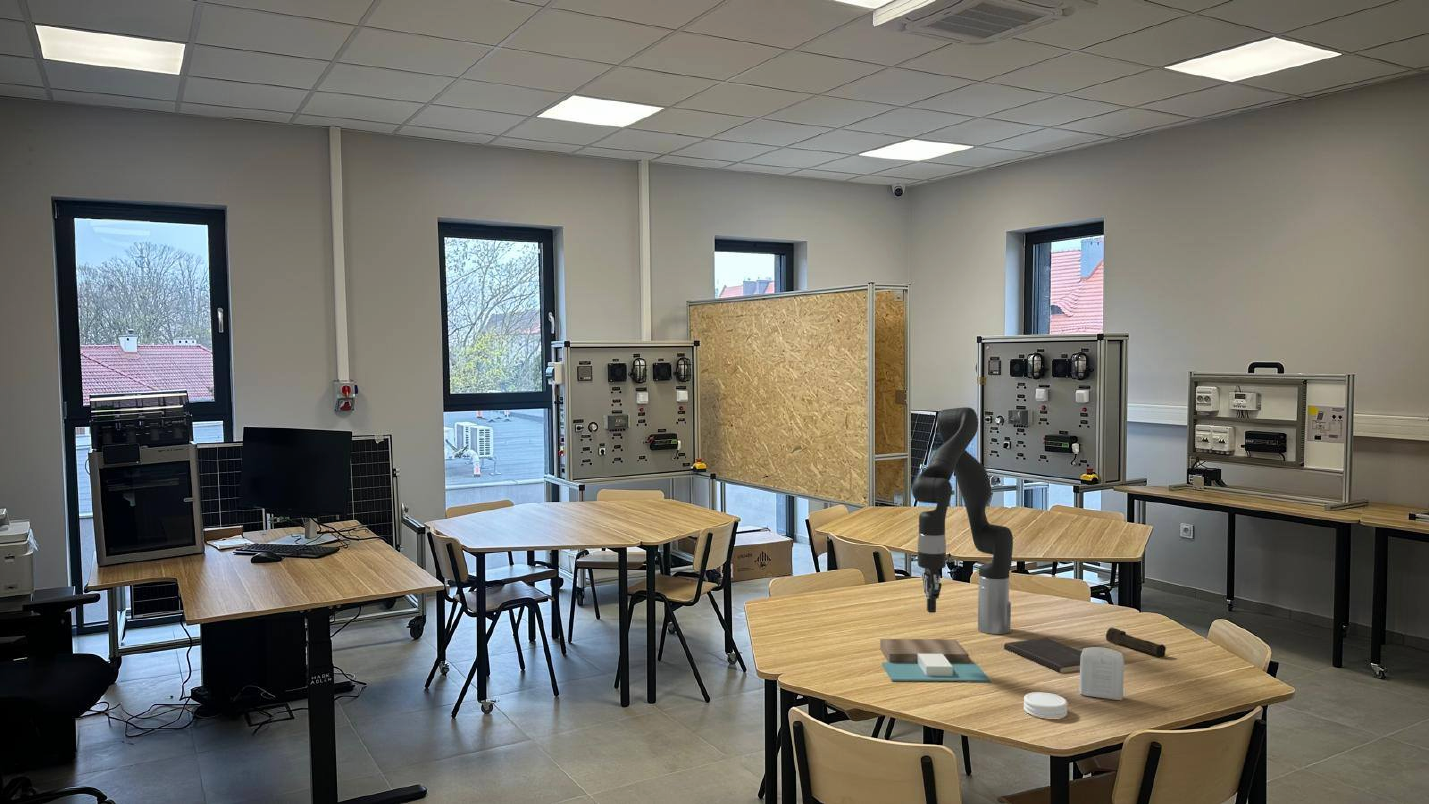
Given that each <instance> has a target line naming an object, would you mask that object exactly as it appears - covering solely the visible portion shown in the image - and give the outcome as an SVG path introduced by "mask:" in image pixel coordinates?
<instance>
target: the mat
mask: <svg viewBox="0 0 1429 804" xmlns="http://www.w3.org/2000/svg"><path fill="white" fill-rule="evenodd" d="M950 664H951V665H952V666H953V676H926V675H925V673H924V672H923V670H922V669H921V667H920V666H919V664H918V663H917V662H888V661H883V662H882V663H881V665H882V667H883V669H884V670H885V672H886V674H887V675H888V677H890V678H891V679H890V678H889V679H890V681H891V680H892V681H971V682H970V683H991V678H989V677H988V675H987V674H986V673H985V672H984V671H983V670H982V668H981V667H980V666H979V665H978V664H977V663H976V662H968V663H950ZM892 681H891V682H892Z"/></svg>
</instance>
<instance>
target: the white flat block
mask: <svg viewBox="0 0 1429 804" xmlns="http://www.w3.org/2000/svg"><path fill="white" fill-rule="evenodd" d="M917 663H918V664H919V666H920V667H921V669H922V670H923V672H924V673H925V675H926V676H953V666H952V665H951V664H950V663H949V661H948V660H947V659H946V658H945V656H944V655H943V654H917Z"/></svg>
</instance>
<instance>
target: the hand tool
mask: <svg viewBox="0 0 1429 804" xmlns="http://www.w3.org/2000/svg"><path fill="white" fill-rule="evenodd" d="M1105 634H1106V635H1105V640H1106V642H1109V643H1110V644H1114V645H1115V646H1118V645H1119V647H1123V646H1124V647H1128V648H1131V649H1133V650H1137V651H1140V652H1143V653H1146V654H1148V655H1151V656H1155V657H1156V659H1161V658H1160V657H1162V658H1164V657H1165V655H1166V651H1167V650H1166V649H1167V647H1166V646H1165V645H1164V644H1160V643H1155V642H1153V641H1150V640H1145V639H1143V638H1139V637H1138V638H1137V637H1135V636H1132V635H1129V634H1126V631H1124V630H1121V629H1118V628H1114V627H1110V628H1108V629H1107V631H1106V633H1105Z"/></svg>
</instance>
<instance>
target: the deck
mask: <svg viewBox="0 0 1429 804" xmlns="http://www.w3.org/2000/svg"><path fill="white" fill-rule="evenodd" d="M879 641H880V642H879V643H880V649H879V650H880V651H881V653H882V652H883V653H882V654H883V656H884V658H885V659H886V662H917V654H943V655H944V656H945V658H946V659H947V660H948V661H949V663H969V656H970V655H969V653H968V652H967V651H966V649H965V648H964V647H963V646H962V645H961V644H960V643H959V641H957V639H952V638H951V639H950V638H949V639H948V638H946V639H944V638H943V639H938V638H936V639H933V638H931V639H929V638H926V639H924V638H923V639H922V638H915V639H914V638H880V639H879Z"/></svg>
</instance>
